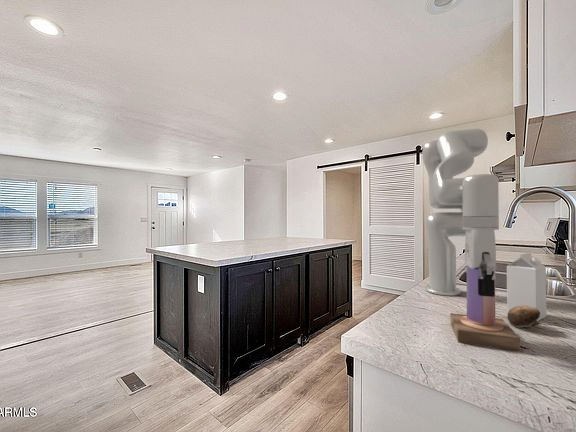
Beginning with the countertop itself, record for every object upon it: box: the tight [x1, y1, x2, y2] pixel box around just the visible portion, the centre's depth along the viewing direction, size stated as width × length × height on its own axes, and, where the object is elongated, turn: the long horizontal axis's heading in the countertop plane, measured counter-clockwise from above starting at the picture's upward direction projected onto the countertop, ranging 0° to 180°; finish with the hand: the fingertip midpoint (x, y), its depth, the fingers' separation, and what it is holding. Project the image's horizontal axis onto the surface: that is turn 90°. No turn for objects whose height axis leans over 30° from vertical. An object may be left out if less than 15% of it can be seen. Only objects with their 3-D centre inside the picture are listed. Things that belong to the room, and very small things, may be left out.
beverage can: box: [466, 265, 496, 326], centre depth 69 cm, size 6×6×15 cm
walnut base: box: [449, 312, 521, 352], centre depth 69 cm, size 12×12×4 cm
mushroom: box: [507, 306, 542, 329], centre depth 74 cm, size 8×8×6 cm
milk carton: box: [506, 251, 547, 322], centre depth 82 cm, size 7×7×19 cm
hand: (480, 290), depth 69 cm, fingers open, 9 cm apart
